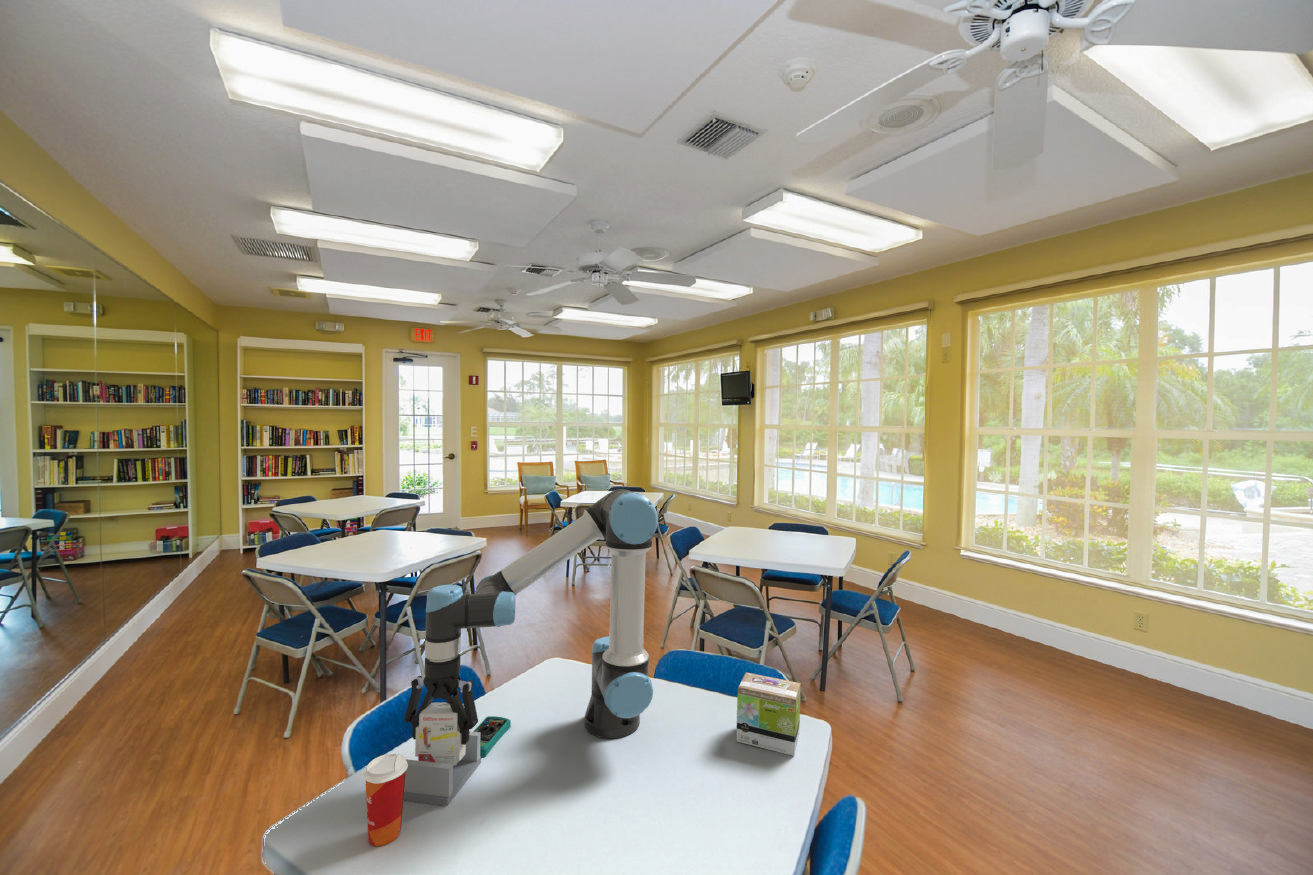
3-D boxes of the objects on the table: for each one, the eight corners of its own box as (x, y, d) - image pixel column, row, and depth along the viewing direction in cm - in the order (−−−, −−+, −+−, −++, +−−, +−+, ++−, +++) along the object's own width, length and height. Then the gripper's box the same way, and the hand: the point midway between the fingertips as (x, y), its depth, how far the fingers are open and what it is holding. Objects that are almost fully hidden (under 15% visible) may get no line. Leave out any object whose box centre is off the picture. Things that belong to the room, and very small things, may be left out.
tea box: (735, 743, 135) (736, 686, 135) (744, 724, 144) (744, 670, 144) (795, 758, 129) (796, 698, 129) (800, 737, 138) (801, 681, 139)
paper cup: (373, 822, 105) (374, 752, 105) (412, 820, 106) (414, 751, 106) (353, 852, 97) (355, 777, 97) (396, 850, 98) (398, 775, 98)
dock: (480, 762, 125) (481, 731, 125) (447, 806, 110) (448, 770, 110) (434, 757, 127) (434, 726, 127) (394, 799, 112) (395, 764, 112)
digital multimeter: (512, 727, 142) (512, 716, 142) (484, 759, 127) (485, 747, 127) (486, 724, 143) (487, 713, 143) (457, 756, 128) (457, 744, 128)
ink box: (416, 767, 116) (417, 713, 116) (424, 754, 120) (425, 702, 121) (456, 766, 116) (457, 712, 116) (462, 753, 121) (464, 701, 121)
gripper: (495, 652, 121) (493, 750, 121) (408, 645, 124) (405, 741, 124) (480, 666, 113) (478, 770, 113) (387, 658, 116) (385, 760, 116)
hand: (440, 755), depth 118 cm, fingers closed on ink box, 9 cm apart
